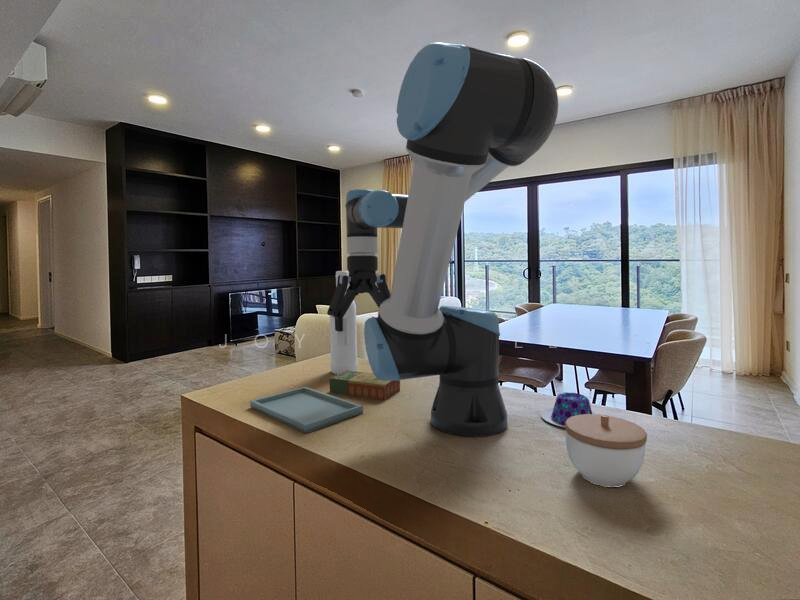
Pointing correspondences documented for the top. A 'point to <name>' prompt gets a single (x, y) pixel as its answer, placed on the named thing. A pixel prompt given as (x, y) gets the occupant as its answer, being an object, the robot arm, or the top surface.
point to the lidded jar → (605, 448)
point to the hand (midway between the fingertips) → (363, 340)
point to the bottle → (347, 355)
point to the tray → (306, 408)
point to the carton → (363, 385)
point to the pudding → (567, 408)
